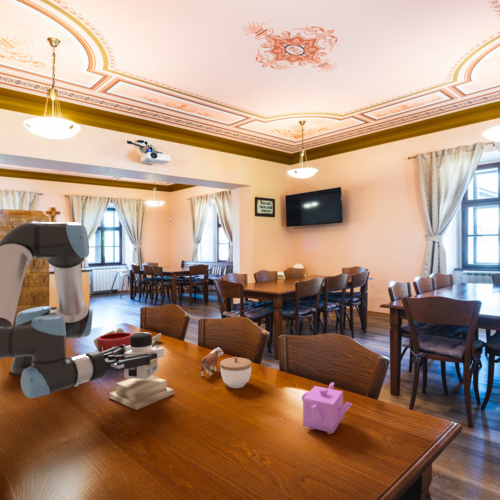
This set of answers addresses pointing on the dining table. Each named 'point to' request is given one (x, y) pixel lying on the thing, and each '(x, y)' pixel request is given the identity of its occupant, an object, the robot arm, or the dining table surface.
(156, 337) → the toy food set
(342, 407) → the teapot
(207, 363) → the bull figurine
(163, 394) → the plinth
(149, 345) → the container
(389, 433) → the dining table surface
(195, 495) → the dining table surface
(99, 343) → the plant pot
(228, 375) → the lidded jar
